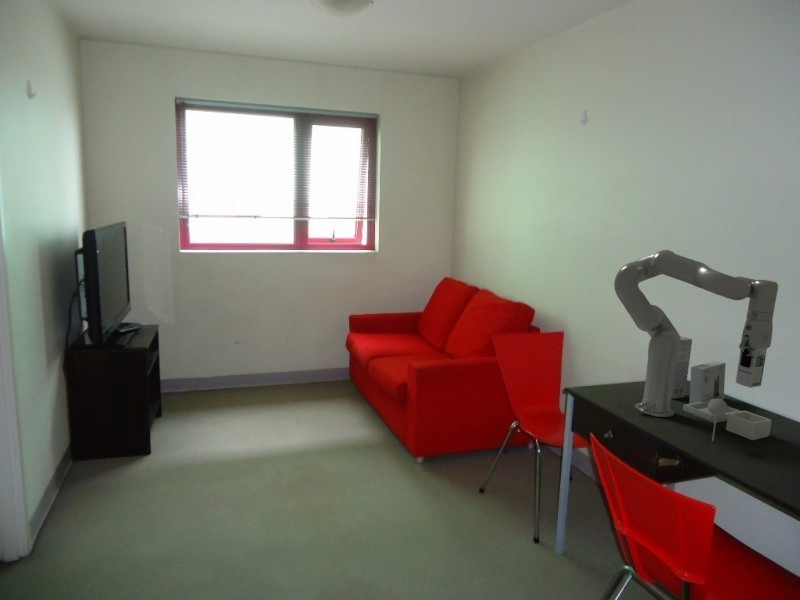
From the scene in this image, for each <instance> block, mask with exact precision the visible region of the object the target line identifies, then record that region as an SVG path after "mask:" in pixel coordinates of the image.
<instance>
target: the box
mask: <svg viewBox="0 0 800 600" xmlns="http://www.w3.org/2000/svg"><path fill="white" fill-rule="evenodd" d="M680 339H681V341H680V345H679V347H678V349H677V352H676V361H675V370H674V379H673V387H672V394H671V400H674V399H680V398H685V397H686V389H687V382H688V375H689V367H690V360H691V353H692V352H691V351H692V345H693V339H692V338H690V337H686V336H682V335H680Z"/></svg>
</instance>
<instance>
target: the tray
mask: <svg viewBox="0 0 800 600" xmlns="http://www.w3.org/2000/svg"><path fill="white" fill-rule="evenodd" d="M709 401H710V400H707V401H704V402H696V403H691V404H689V403H687V404H683V405H682V406H683V407H682V412H684V413H688V415H691V416H695V417H697V418H700V419H702V420H704V421H707V422H710V423H713V424H714V423H715V416H714V415H712V414H711V413H710V412H709V410H708V403H709ZM727 407H728V410H727V412H726V413H725V414H724V415H722V416H717V420H716V424H717V423H721V422H727V419H728V414H730V413H735V412H740V411H741V410H740V409H737V408H734V407H731V406H729V405H727Z"/></svg>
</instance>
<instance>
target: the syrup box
mask: <svg viewBox="0 0 800 600" xmlns="http://www.w3.org/2000/svg"><path fill="white" fill-rule="evenodd" d="M747 347H750V346H749V345H747ZM746 349H747V348H746ZM739 350H740V349H739ZM747 350H748V352H749V349H747ZM767 350H768V348H762V349H753V351H752V354H751V357H752V359H751V364H750V368H747V367H744V366H741V365H740V362H741V357H742V355H741V350H740V351H739V358H738V362H737V363H738V365H737V372H736V376H735V377H736V378H735V383H736V384H738V385H741V386H743V387H747V388H751V389H752V388H757V387H761V386H762V381H763V375H764V368H765V364H766V363H765V362H766V355H767Z"/></svg>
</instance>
